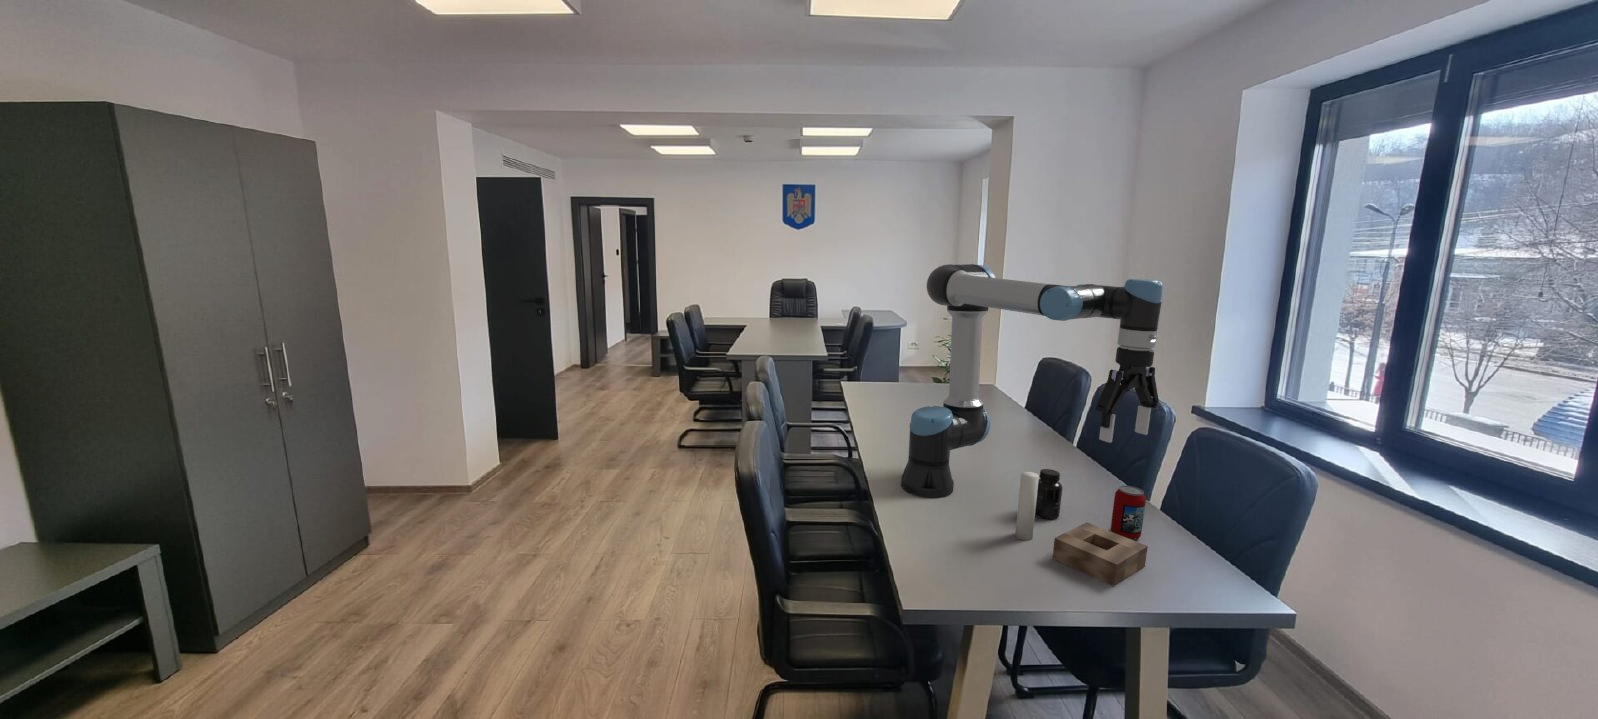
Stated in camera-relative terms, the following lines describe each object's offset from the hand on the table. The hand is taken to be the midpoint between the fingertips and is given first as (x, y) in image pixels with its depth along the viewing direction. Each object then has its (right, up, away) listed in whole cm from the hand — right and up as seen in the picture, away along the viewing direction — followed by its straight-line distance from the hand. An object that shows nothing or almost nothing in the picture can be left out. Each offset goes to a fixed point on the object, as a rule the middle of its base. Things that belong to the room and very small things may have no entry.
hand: (1123, 437), depth 141 cm
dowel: (-21, -25, +7) cm, 34 cm away
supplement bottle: (-10, -23, +20) cm, 32 cm away
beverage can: (+5, -26, +9) cm, 28 cm away
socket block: (-8, -28, -5) cm, 29 cm away
